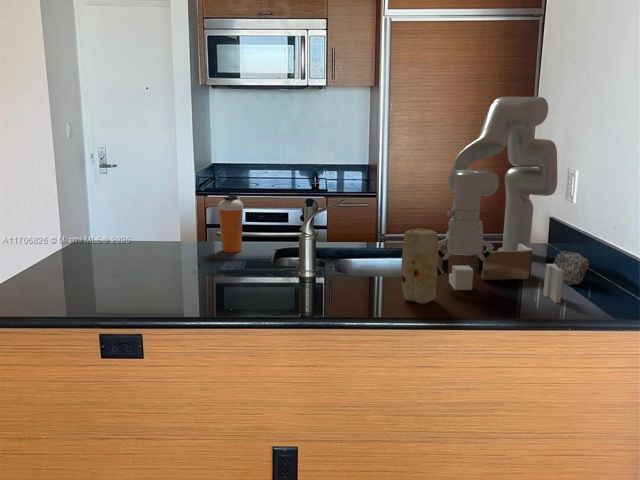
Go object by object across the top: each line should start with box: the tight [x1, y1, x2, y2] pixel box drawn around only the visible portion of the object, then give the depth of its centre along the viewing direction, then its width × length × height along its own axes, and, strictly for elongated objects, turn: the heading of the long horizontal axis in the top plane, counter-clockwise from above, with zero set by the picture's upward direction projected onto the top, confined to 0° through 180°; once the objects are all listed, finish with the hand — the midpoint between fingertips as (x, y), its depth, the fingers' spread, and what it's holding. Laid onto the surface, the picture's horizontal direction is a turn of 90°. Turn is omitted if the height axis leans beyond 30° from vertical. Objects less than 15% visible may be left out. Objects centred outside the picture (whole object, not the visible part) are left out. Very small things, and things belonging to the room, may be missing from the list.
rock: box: [552, 250, 590, 286], centre depth 180 cm, size 16×8×10 cm, turn 173°
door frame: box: [517, 244, 563, 304], centre depth 174 cm, size 2×33×9 cm, turn 0°
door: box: [480, 250, 534, 281], centre depth 181 cm, size 3×16×9 cm, turn 96°
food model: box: [400, 228, 439, 305], centre depth 158 cm, size 10×7×20 cm
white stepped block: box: [448, 265, 474, 291], centre depth 174 cm, size 8×5×6 cm, turn 0°
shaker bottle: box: [218, 195, 244, 254], centre depth 213 cm, size 9×9×20 cm
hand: (461, 272), depth 171 cm, fingers open, 9 cm apart
